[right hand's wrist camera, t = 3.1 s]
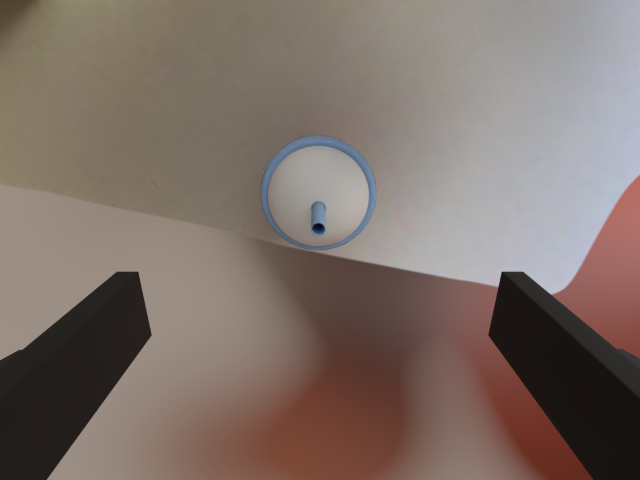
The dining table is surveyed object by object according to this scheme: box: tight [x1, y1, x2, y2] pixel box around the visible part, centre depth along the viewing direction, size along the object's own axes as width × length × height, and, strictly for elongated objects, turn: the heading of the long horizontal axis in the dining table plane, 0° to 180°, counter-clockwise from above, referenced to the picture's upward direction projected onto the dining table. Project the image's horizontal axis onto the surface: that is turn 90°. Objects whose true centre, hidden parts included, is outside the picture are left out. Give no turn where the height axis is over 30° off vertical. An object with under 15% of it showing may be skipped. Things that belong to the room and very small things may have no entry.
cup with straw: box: [260, 136, 376, 250], centre depth 28 cm, size 9×9×18 cm
